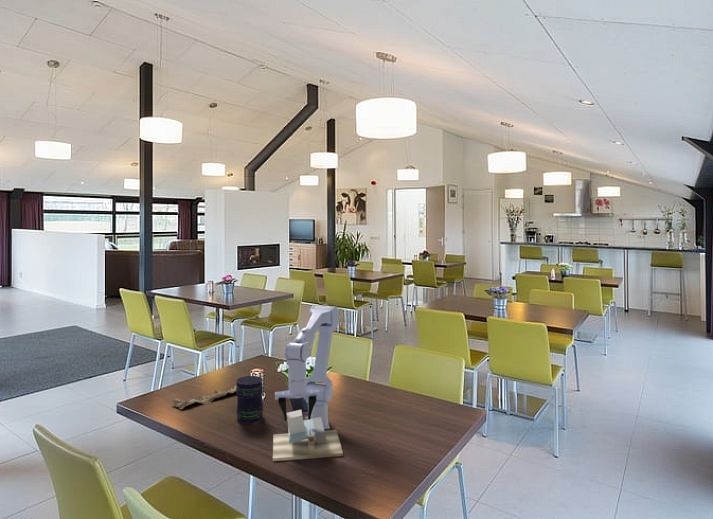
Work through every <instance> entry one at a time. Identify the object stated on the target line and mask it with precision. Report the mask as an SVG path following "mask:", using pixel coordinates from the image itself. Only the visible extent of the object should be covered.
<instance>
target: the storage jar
mask: <svg viewBox="0 0 713 519" xmlns="http://www.w3.org/2000/svg"><path fill="white" fill-rule="evenodd" d="M236 386H237V387H236V391H235V393H236V397H237V398H236V400H237V404H236V416H237V417H236V421H237V422H238V421H239V422H238V423H240V422H241V424H246V423H247V424H249V425H250V424H255V423H258V422H260V421H262V420H263V418H264V415H263V412H264V406H263V405H264V404H263V392H264V390H263V389H264V388H263V387H264V385H263V378H262V377H261V376H259V375H257V376H256V375H246V376H242V377H241V376H240V377H239V378H237V380H236ZM247 424H246V425H247Z"/></svg>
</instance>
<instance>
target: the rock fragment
mask: <svg viewBox="0 0 713 519" xmlns="http://www.w3.org/2000/svg"><path fill="white" fill-rule="evenodd" d="M233 387H234V389H232V388H233ZM236 387H237V385H234V386H232V387H231V388H230V389H231V390H230V389H229V390H230V391H229V390H226V391H227V392H226V391H222V390H220V389H219V390H214V393H218V394H213V395H212V396H209V395H208V396H206V395H200V396H199V397H201V396H203V399H204V400H202V401H201V400H199V399H197V400H195V399H196V398H191V399H192V400H191V399H189V400H190V401H187V399H186V400H185V399H179V398H176V397H173V398H171V401H172V403H173V404H174V406H175V407H176V408H178V409H180V410H183V409H184V408H186V407H188V406H189V405H192V404H195V403H198V404H202V405H203V403H205V402H211V401H212V402H213V401H214V400H215V399H218V398H221V397H225V396H226V395H228V394H234V393H236V392H237V391H236ZM205 396H206V397H205ZM198 400H199V401H198ZM212 402H211V403H212Z"/></svg>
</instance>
